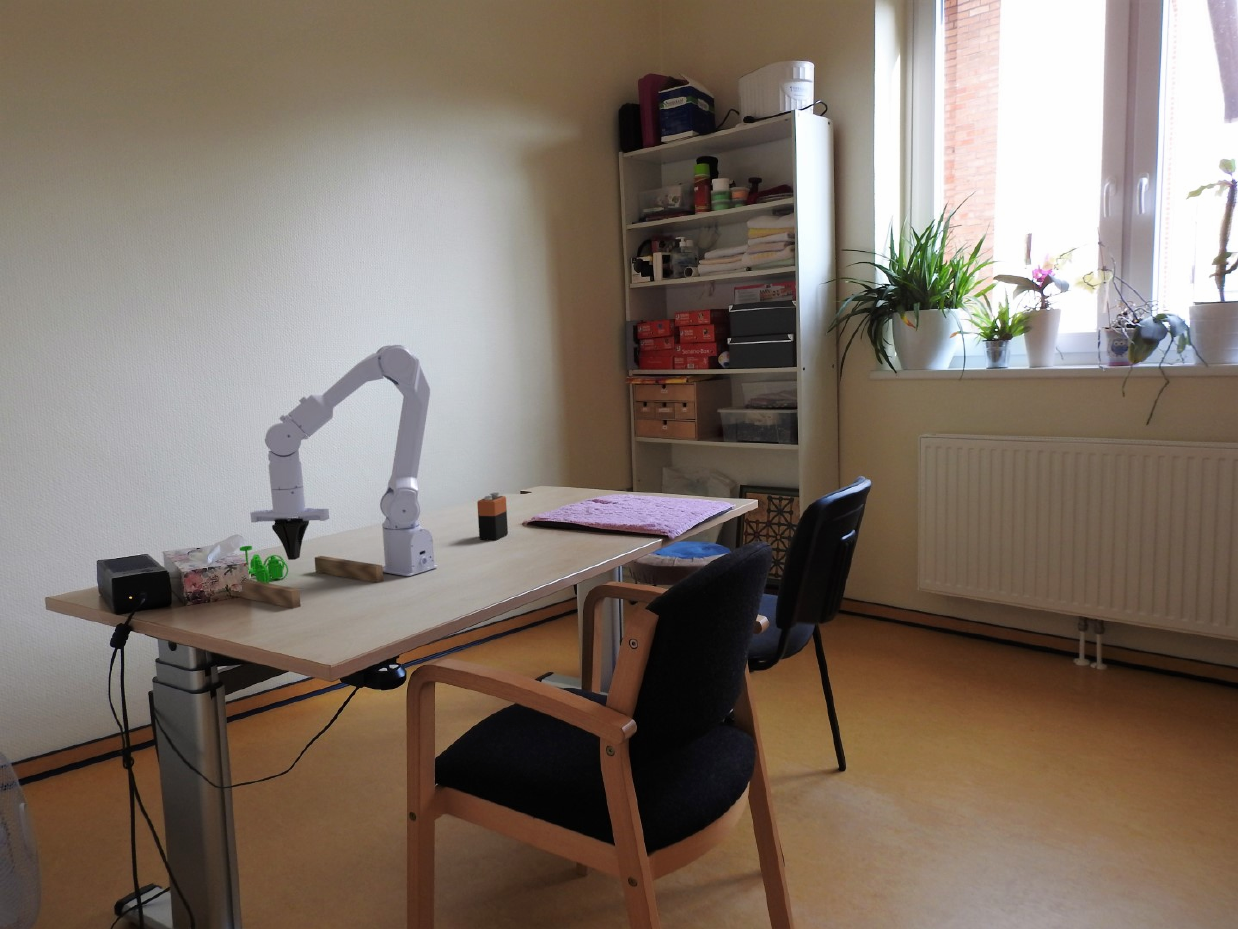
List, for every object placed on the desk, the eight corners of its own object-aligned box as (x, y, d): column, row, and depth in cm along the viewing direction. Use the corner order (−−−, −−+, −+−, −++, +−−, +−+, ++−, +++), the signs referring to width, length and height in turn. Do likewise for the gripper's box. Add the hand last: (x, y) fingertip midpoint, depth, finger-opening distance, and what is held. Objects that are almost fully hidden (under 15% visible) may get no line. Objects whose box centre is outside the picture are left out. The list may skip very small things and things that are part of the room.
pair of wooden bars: (383, 580, 170) (382, 565, 170) (293, 608, 154) (291, 591, 153) (321, 570, 180) (320, 555, 180) (230, 595, 164) (229, 579, 163)
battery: (508, 534, 209) (506, 492, 207) (496, 541, 202) (493, 497, 201) (491, 534, 210) (489, 491, 209) (478, 540, 204) (476, 496, 202)
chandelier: (298, 570, 182) (295, 537, 181) (278, 590, 167) (275, 553, 167) (221, 575, 181) (218, 541, 180) (194, 595, 166) (190, 558, 165)
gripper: (333, 483, 171) (339, 552, 173) (261, 485, 173) (268, 554, 175) (317, 489, 164) (323, 561, 166) (242, 491, 166) (249, 563, 168)
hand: (294, 558), depth 170 cm, fingers closed
